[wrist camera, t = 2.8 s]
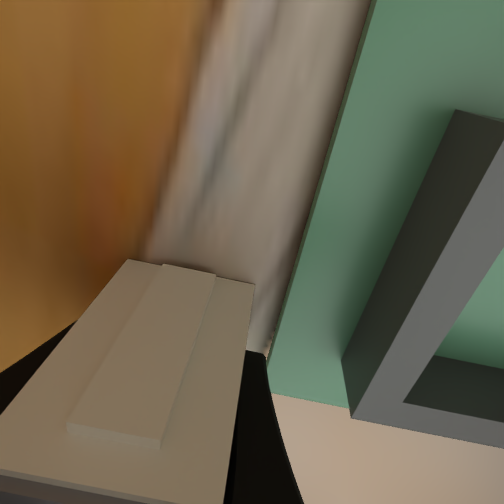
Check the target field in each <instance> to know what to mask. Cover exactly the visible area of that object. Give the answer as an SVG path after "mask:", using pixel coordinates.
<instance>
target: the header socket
mask: <svg viewBox="0 0 504 504" xmlns="http://www.w3.org/2000/svg"><path fill="white" fill-rule="evenodd" d="M266 367H267V374H268V380H269V386H270V391H271V393H274V394H279V395H284V396H289V397H294V398H299V399H304V400H309V401H315V402H319V403H324V404H330V405H335V406H339V407H344V408H349V410H350V415H351V418H352V419H357V420H362V421H367V422H372V423H377V424H382V425H387V426H392V427H397V428H402V429H408V430H412V431H417V432H422V433H428V434H433V435H438V436H443V437H448V438H453V439H458V440H463V441H468V442H473V443H478V444H483V445H488V446H493V447H498V448H503V449H504V0H371V4H370V7H369V11H368V14H367V17H366V21H365V24H364V28H363V31H362V35H361V38H360V41H359V45H358V48H357V52H356V55H355V59H354V62H353V65H352V69H351V72H350V76H349V79H348V83H347V86H346V89H345V93H344V96H343V100H342V103H341V107H340V110H339V113H338V117H337V120H336V124H335V127H334V131H333V134H332V137H331V141H330V144H329V148H328V151H327V155H326V158H325V161H324V165H323V168H322V172H321V175H320V179H319V182H318V186H317V189H316V192H315V196H314V199H313V203H312V206H311V210H310V213H309V216H308V220H307V223H306V227H305V230H304V234H303V237H302V240H301V244H300V247H299V251H298V254H297V258H296V261H295V264H294V268H293V271H292V275H291V278H290V282H289V285H288V288H287V292H286V295H285V299H284V302H283V306H282V309H281V312H280V316H279V319H278V323H277V326H276V330H275V333H274V336H273V340H272V343H271V347H270V350H269V354H268V357H267V360H266Z"/></svg>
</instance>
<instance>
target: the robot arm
mask: <svg viewBox="0 0 504 504" xmlns="http://www.w3.org/2000/svg"><path fill="white" fill-rule="evenodd" d="M77 321H78V320H77ZM77 321H75V322H74V323H72V324H71V325H69V326H68V327H67V328H65V329H64V330H62V331H61V332H59V333H58V334H57V335H55V336H54V337H52V338H51V339H50V340H48V341H47V342H45V343H44V344H42V345H41V346H39V347H38V348H37V349H35V350H34V351H32V352H31V353H29V354H28V355H26V356H25V357H23V358H22V359H20V360H19V361H17V362H16V363H15V364H13V365H12V366H10V367H9V368H7V369H6V370H4V371H3V372H1V373H0V415H1V414H2V413H3V412H4V410H5V409H6V408H7V407H8V405H9V404H10V403H11V402H12V400H13V399H14V398H15V397H16V396H17V394H18V393H19V392H20V391H21V389H22V388H23V387H24V386H25V384H26V383H27V382H28V381H29V380H30V378H31V377H32V376H33V375H34V373H35V372H36V371H37V370H38V368H39V367H40V366H41V365H42V364H43V362H44V361H45V360H46V359H47V357H48V356H49V355H50V354H51V353H52V351H53V350H54V349H55V348H56V346H57V345H58V344H59V343H60V341H61V340H62V339H63V338H64V337H65V335H66V334H67V333H68V332H69V330H70V329H71V328H72V327H73V325H74V324H75V323H76V322H77ZM223 504H304V502H303V499H302V497H301V494H300V491H299V489H298V486H297V483H296V480H295V477H294V474H293V471H292V468H291V465H290V462H289V459H288V456H287V452H286V449H285V446H284V443H283V439H282V436H281V432H280V428H279V424H278V421H277V417H276V413H275V409H274V405H273V401H272V396H271V391H270V386H269V380H268V374H267V367H266V357H265V356H264V354H262V353H258V352H253V351H248V350H245V356H244V363H243V370H242V377H241V383H240V390H239V397H238V404H237V411H236V418H235V425H234V431H233V438H232V445H231V452H230V459H229V466H228V473H227V479H226V486H225V493H224V500H223Z"/></svg>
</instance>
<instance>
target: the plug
mask: <svg viewBox="0 0 504 504" xmlns="http://www.w3.org/2000/svg"><path fill="white" fill-rule="evenodd" d="M254 288H255V285H254V284H249V283H244V282H239V281H234V280H230V279H225V278H220V277H216V274H212V273H207V272H202V271H197V270H192V269H187V268H182V267H177V266H172V265H167V264H163V265H162V266H160V265H156V264H151V263H146V262H141V261H136V260H131V259H127V260H126V261H125V263H124V264H123V265H122V266H121V268H120V269H119V270H118V271H117V273H116V274H115V275H114V276H113V277H112V279H111V280H110V281H109V282H108V284H107V285H106V286H105V287H104V289H103V290H102V291H101V292H100V293H99V295H98V296H97V297H96V298H95V300H94V301H93V302H92V303H91V305H90V306H89V307H88V308H87V309H86V311H85V312H84V313H83V314H82V316H81V317H80V318H79V319H78V321H77V322H76V323H75V324H74V325H73V327H72V328H71V329H70V330H69V332H68V333H67V334H66V335H65V337H64V338H63V339H62V340H61V341H60V343H59V344H58V345H57V346H56V348H55V349H54V350H53V351H52V353H51V354H50V355H49V356H48V357H47V359H46V360H45V361H44V362H43V364H42V365H41V366H40V367H39V368H38V370H37V371H36V372H35V373H34V375H33V376H32V377H31V378H30V380H29V381H28V382H27V383H26V384H25V386H24V387H23V388H22V389H21V391H20V392H19V393H18V394H17V396H16V397H15V398H14V399H13V400H12V402H11V403H10V404H9V405H8V407H7V408H6V409H5V410H4V412H3V413H2V414H1V415H0V504H223V500H224V493H225V486H226V479H227V473H228V466H229V459H230V452H231V445H232V438H233V431H234V425H235V418H236V411H237V404H238V397H239V390H240V383H241V377H242V370H243V363H244V356H245V349H246V342H247V336H248V329H249V322H250V315H251V308H252V301H253V294H254Z"/></svg>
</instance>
